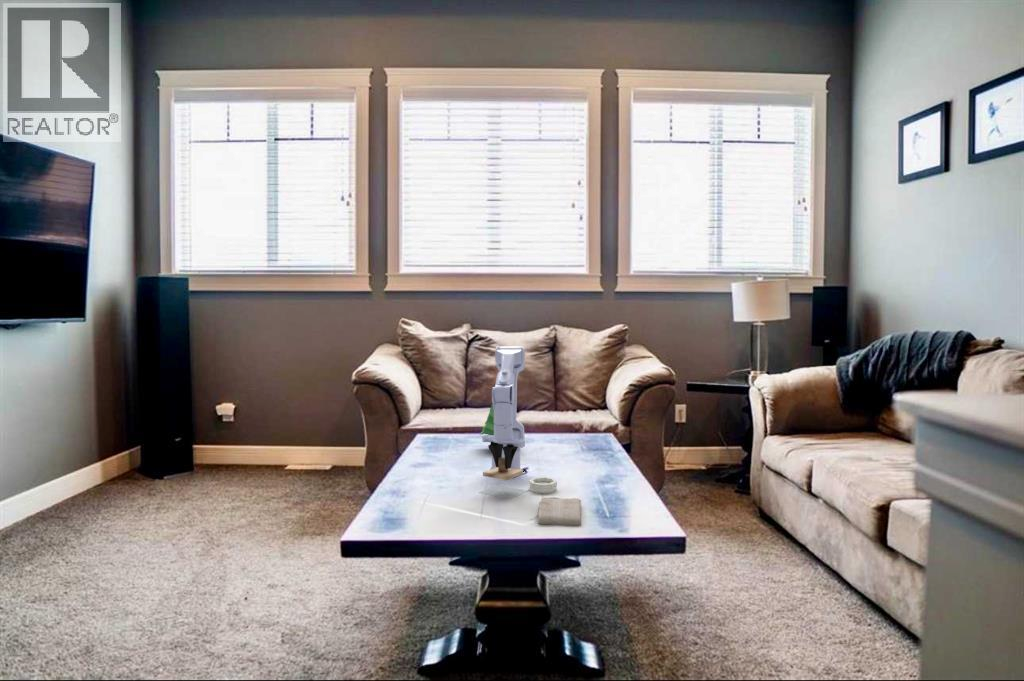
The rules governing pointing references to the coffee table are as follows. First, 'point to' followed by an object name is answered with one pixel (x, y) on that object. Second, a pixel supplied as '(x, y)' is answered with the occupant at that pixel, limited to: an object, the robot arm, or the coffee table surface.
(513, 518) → the coffee table surface
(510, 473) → the lid
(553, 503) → the washcloth
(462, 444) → the coffee table surface
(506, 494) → the mat
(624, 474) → the coffee table surface
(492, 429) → the decorative tree
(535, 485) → the bowl
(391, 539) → the coffee table surface
